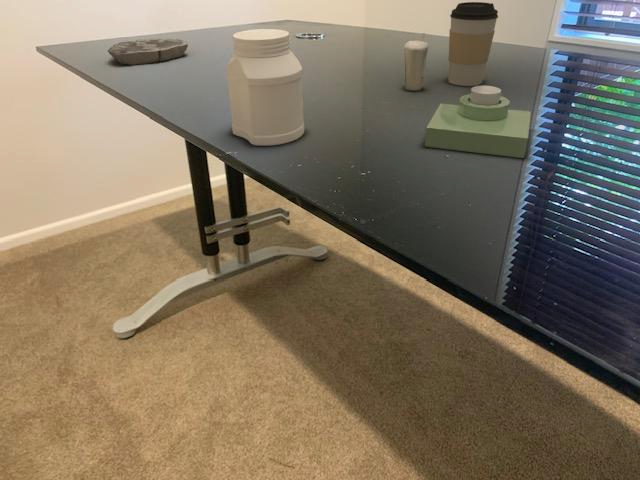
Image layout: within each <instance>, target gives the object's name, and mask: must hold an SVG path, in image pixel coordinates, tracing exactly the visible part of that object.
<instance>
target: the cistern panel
mask: <svg viewBox="0 0 640 480" xmlns="http://www.w3.org/2000/svg"><path fill="white" fill-rule="evenodd" d="M470 94H471V93H468V94H464V95H462V96H460V98H459V100H458V104H451V103H440V104H439V105H438V107H437V109H436V111H435V112H434V114H433V115H432V118H431V119H430V121H429V123H428V124H427V126H426V128H425V140H424V147H425V148H433V149H442V150H451V151H458V152H459V151H460V152H467V153H476V154H484V155H492V156H500V157H501V156H502V157H509V158H517V159H518V158H519V159H524V158H525V155H526V150H527V146H528V141H529V135H530V125H531V116H532V115H531V114H532V112H531V111H529V110H518V109H510V108H509V107H510V102H511V101H510V99H508V98H507V97H505V96H502V95H501V96H500V101H499V104H497V105H488V106H487V105H477V104H474V103H471V102H469V101H470Z"/></svg>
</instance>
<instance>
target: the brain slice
mask: <svg viewBox="0 0 640 480" xmlns="http://www.w3.org/2000/svg"><path fill="white" fill-rule="evenodd" d="M188 46H189V43H188V42H187V41H185V40H183V39H177V38H175V39H173V38H141V39H137V40H135V41H134V40H130V41H122V42H118V43H116V44H113V45H112V46H110V48H109V49H107V53H108V54H109V55H110V56H111V57H112V58H113V59H115V60H117V62H118V63H120V64H121V65H125V66H126V65H129V66H135V65H136V66H137V65H147V64H153V63H158V62H161V63H162V62H166V61H170V60H176V59H178V58H181V57H182V56H183V55H184V54H185V53H186V52H187V49H188Z"/></svg>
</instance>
